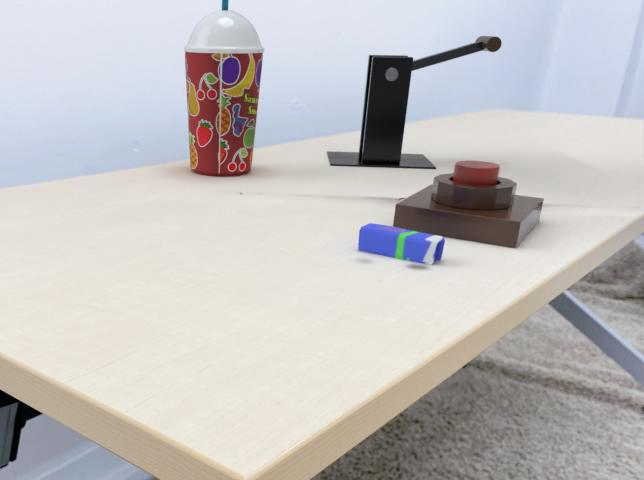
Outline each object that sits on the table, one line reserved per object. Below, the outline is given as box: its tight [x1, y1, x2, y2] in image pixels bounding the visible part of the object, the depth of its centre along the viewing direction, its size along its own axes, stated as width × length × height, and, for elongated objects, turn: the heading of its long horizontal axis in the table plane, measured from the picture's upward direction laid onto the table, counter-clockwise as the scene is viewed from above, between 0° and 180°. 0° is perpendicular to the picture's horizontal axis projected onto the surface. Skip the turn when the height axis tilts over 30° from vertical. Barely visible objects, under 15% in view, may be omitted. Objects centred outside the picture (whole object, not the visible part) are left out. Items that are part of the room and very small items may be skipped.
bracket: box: [326, 54, 437, 170], centre depth 84 cm, size 12×9×13 cm
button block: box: [392, 172, 544, 249], centre depth 61 cm, size 10×10×4 cm
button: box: [453, 160, 501, 186], centre depth 60 cm, size 4×4×2 cm
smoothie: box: [183, 0, 265, 177], centre depth 75 cm, size 8×8×20 cm
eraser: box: [357, 222, 446, 266], centre depth 54 cm, size 2×6×2 cm, turn 52°
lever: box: [412, 35, 503, 72], centre depth 81 cm, size 13×6×2 cm, turn 83°
